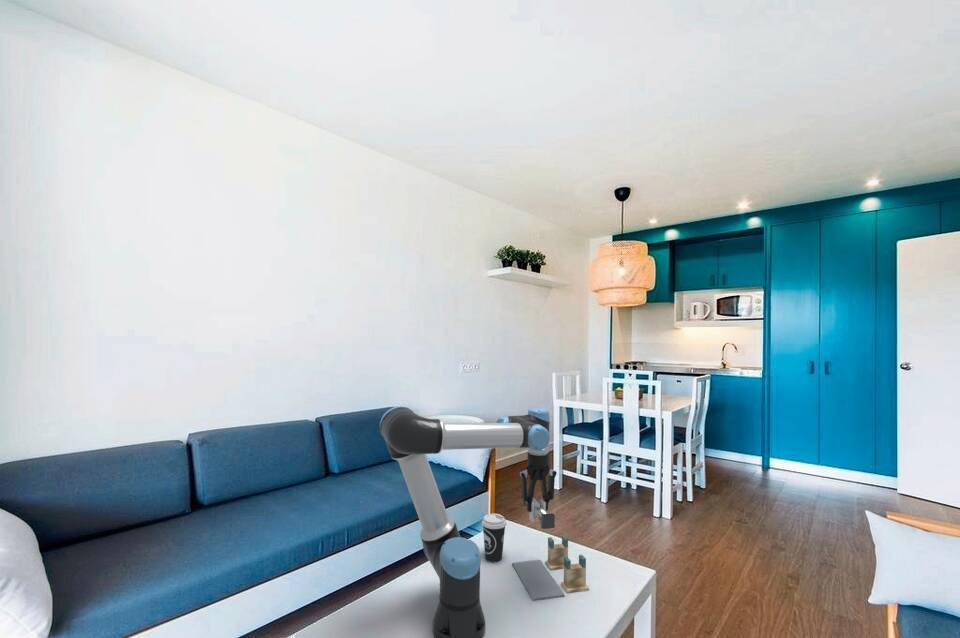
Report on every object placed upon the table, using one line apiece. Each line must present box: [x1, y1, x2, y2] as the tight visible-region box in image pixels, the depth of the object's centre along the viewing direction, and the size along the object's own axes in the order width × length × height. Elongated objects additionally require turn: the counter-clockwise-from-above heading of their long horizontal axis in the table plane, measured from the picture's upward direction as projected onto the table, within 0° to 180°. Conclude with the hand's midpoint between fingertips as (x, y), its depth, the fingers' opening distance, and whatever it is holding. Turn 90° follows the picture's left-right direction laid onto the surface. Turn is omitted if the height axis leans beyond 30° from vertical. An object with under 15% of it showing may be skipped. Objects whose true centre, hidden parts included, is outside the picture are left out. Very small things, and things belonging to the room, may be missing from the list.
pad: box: [511, 559, 566, 602], centre depth 148 cm, size 11×22×1 cm, turn 13°
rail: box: [521, 492, 556, 530], centre depth 149 cm, size 20×4×4 cm, turn 13°
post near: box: [560, 554, 590, 594], centre depth 144 cm, size 8×5×10 cm, turn 103°
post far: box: [544, 535, 569, 571], centre depth 157 cm, size 8×5×10 cm, turn 103°
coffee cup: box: [481, 513, 507, 563], centre depth 162 cm, size 10×10×15 cm
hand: (537, 520), depth 148 cm, fingers closed on rail, 4 cm apart
